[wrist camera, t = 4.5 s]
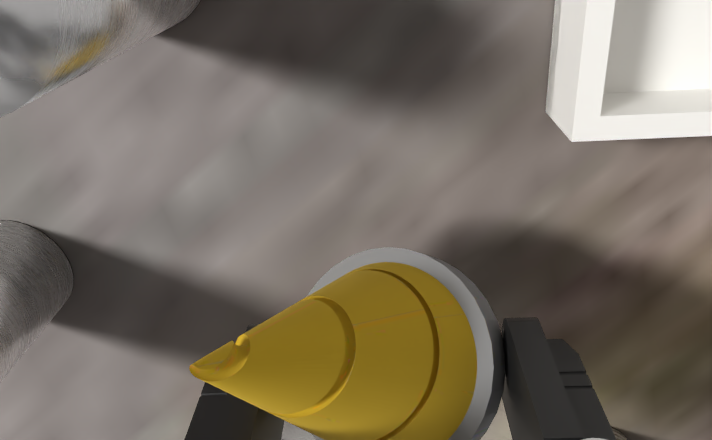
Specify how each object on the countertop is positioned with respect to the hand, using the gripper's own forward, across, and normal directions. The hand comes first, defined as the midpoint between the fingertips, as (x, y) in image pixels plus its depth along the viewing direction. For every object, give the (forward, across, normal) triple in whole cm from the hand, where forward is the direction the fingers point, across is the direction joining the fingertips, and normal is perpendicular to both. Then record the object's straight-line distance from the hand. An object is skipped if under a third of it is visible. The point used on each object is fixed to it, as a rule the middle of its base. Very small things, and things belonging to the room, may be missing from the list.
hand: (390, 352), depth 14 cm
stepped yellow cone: (+3, +1, 0) cm, 3 cm away
